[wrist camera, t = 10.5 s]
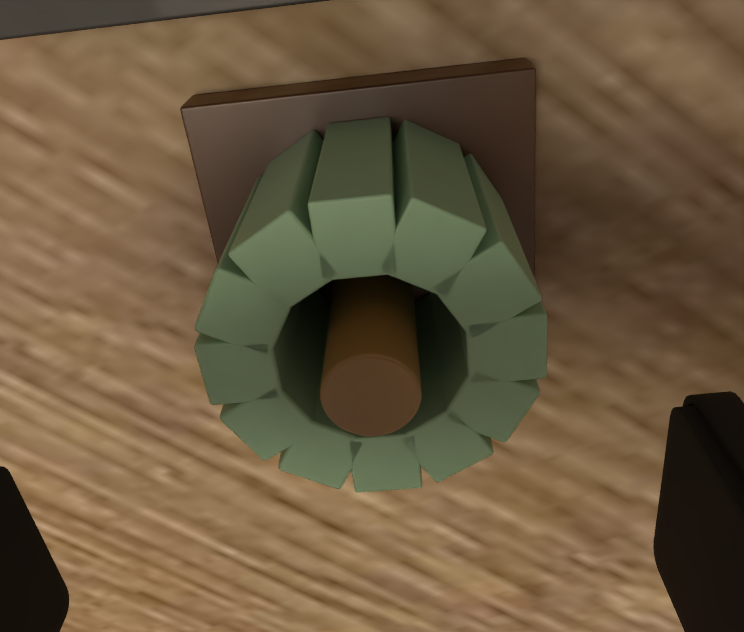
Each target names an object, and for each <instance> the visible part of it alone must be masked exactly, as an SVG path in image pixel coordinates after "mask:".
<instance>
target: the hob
mask: <svg viewBox="0 0 744 632" xmlns="http://www.w3.org/2000/svg"><path fill="white" fill-rule="evenodd" d="M320 1H328V0H0V40H4V39H12V38H20V37H29V36H37V35H45V34H54V33H62V32H70V31H79V30H87V29H95V28H104V27H112V26H120V25H129V24H137V23H145V22H154V21H162V20H170V19H179V18H187V17H195V16H204V15H212V14H220V13H229V12H237V11H245V10H253V9H262V8H270V7H278V6H287V5H295V4H303V3H312V2H320Z"/></svg>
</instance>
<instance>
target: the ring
mask: <svg viewBox="0 0 744 632" xmlns="http://www.w3.org/2000/svg"><path fill="white" fill-rule="evenodd" d="M378 275H390V276H392V277H395V278H397V279H400V280H402V281H405V282H407V283H410V284H412V285H415V286H417V287H420V288H422V289H425V290H427V291H430V292H431V293H430V294H429V295H427V296H425V297H424V298H422V299H421V300H419V301H417V302H416V303H415V316H416V328H417V340H418V353H419V365H420V378H421V390H422V398H421V403H420V406H419V409H418V411H417V413H416V414H415V415H414V417H413V418H412V419H411V420H410V421H409V422H408V423H407V424H406V425H405V426H403V427H402V428H400V429H398V430H396V431H394V432H392V433H389V434H385V435H379V436H363V435H357V434H354V433H351V432H348V431H346V430H344V429H342V428H340V427H339V426H337V425H336V424H335V423H334V422H333V421H332V420H331V419H330V418H329V417H328V416H327V414H326V412H325V411H324V409H323V407H322V404H321V400H320V386H321V378H322V370H323V362H324V355H325V347H326V339H327V331H328V324H329V316H330V308H331V303H329V302H328V301H327V300H326V299H325V298H324V296H323V295H322V294H321V293H320V292H319V291H318V289H319V288H321V287H322V286H324V285H325V284H327V283H328V282H330V281H331V280H336V279H346V278H357V277H368V276H378ZM541 300H542V296H541V293H540V291H539V289H538V286H537V284H536V281H535V279H534V276H533V274H532V271H531V269H530V267H529V264H528V262H527V259H526V257H525V254H524V252H523V249H522V247H521V244H520V242H519V240H518V237H517V235H516V232H515V230H514V227H513V225H512V222H511V220H510V217H509V215H508V213H507V210H506V208H505V205H504V203H503V200H502V198H501V197H500V195H499V194H498V192H497V191H496V189H495V188H494V186H493V185H492V183H491V182H490V180H489V179H488V177H487V176H486V175H485V173H484V172H483V170H482V169H481V167H480V166H479V164H478V163H477V161H476V160H475V158H474V157H473V155H472V154H468V155H467V156H465V157H463V154H462V151H461V148H460V145H459V144H458V143H456V142H454V141H452V140H450V139H447V138H445V137H443V136H441V135H439V134H436V133H434V132H432V131H430V130H427V129H425V128H423V127H421V126H418V125H416V124H414V123H412V122H410V121H407V120H404V121H403V122H402V124H401V126H400V128H399V130H398V133H397V135H396V137H395V139H394V141H393V143H392V133H391V122H390V118H389V117H383V118H374V119H364V120H355V121H346V122H337V123H329V124H328V125H327V129H326V133H325V137H324V141H323V140H322V139H321V137H320V136H319V135H318V133H317V132H316V131H314V130H313V131H310V132H309V133H308V134H306V135H305V136H304V137H302V138H301V139H300V140H299V141H297V142H296V143H295V144H293V145H292V146H291V147H289V148H288V149H287V150H285V151H284V152H283V153H281V154H280V155H279V156H277V157H276V158H275V159H273V160H272V161H271V162H269V163H268V165H267V167H266V170H265V172H264V174H263V176H262V177H260V176H259V177H258V178H257V180H256V182H255V184H254V186H253V189H252V191H251V193H250V195H249V197H248V199H247V202H246V204H245V206H244V208H243V210H242V213H241V215H240V217H239V219H238V221H237V223H236V226H235V228H234V230H233V232H232V234H231V236H230V239H229V241H228V243H227V245H226V247H225V249H224V252H223V254H222V256H221V258H220V260H219V262H218V265H217V267H216V269H215V272H214V274H213V277H212V280H211V283H210V285H209V288H208V291H207V294H206V296H205V299H204V302H203V305H202V307H201V310H200V313H199V316H198V318H197V321H196V324H195V330H196V331H197V332H200V334H199V336H198V338H197V341H196V343H195V346H194V348H195V352H196V355H197V359H198V362H199V366H200V369H201V373H202V377H203V380H204V384H205V387H206V391H207V394H208V398H209V401H210V403H211V404H212V405H219V404H223V408H222V411H221V414H220V419H221V421H222V422H223V423H224V424H225V425H226V426H227V427H229V428H230V429H231V430H232V431H233V432H234V433H235V434H236V435H237V436H238V437H239V438H240V439H241V440H242V441H243V442H244V443H245V444H247V445H248V446H249V447H250V448H251V449H252V450H253V451H254V452H255V453H256V454H257V455H258V456H259V457H260V458H261V459H262V460H268V459H269V458H271V457H273V456H274V455H276V454H278V453H280V452H281V455H280V460H279V469H280V470H281V471H284V472H287V473H290V474H293V475H296V476H299V477H303V478H306V479H309V480H312V481H315V482H318V483H321V484H324V485H327V486H330V487H333V488H336V489H340V488H341V487H342V485H343V484H344V482H345V480H346V478H347V477H348V475H349V473H350V471H351V470H352V476H353V482H354V488H355V491H356V492H370V491H384V490H398V489H411V488H421V487H422V475H421V466H422V467H423V469H424V470H425V471H426V472H427V473H428V474H429V475H430V476H431V477H432V478H433V479H434V481H435V482H440V481H442V480H444V479H446V478H448V477H450V476H452V475H454V474H456V473H457V472H459V471H461V470H463V469H465V468H467V467H469V466H471V465H473V464H475V463H477V462H479V461H481V460H482V459H484V458H486V457H488V456H490V455H492V454H493V452H494V451H493V447H492V442H491V438H493V439H496V440H499V441H502V442H506V441H507V440H508V439H509V437H510V436H511V434H512V433H513V431H514V430H515V429H516V427H517V426H518V424H519V423H520V421H521V420H522V419H523V417H524V416H525V414H526V413H527V411H528V410H529V408H530V407H531V406H532V404H533V403H534V401H535V400H536V398H537V397H538V395H539V393H540V389H539V386H538V383H537V380H536V379H542V378H546V375H547V318H548V316H547V313H546V311H545V308H544V306H543V303H542V301H541Z"/></svg>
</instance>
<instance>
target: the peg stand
mask: <svg viewBox="0 0 744 632" xmlns="http://www.w3.org/2000/svg"><path fill="white" fill-rule="evenodd" d="M180 110H181V114H182V119H183V123H184V127H185V131H186V135H187V139H188V143H189V147H190V151H191V155H192V159H193V163H194V168H195V172H196V176H197V180H198V184H199V188H200V192H201V196H202V200H203V204H204V208H205V212H206V217H207V221H208V225H209V229H210V233H211V237H212V241H213V245H214V249H215V253H216V257H217V261H218V262H219V260H220V258H221V256H222V254H223V252H224V249H225V247H226V245H227V243H228V241H229V239H230V236H231V234H232V232H233V230H234V228H235V226H236V223H237V221H238V219H239V217H240V215H241V213H242V210H243V208H244V206H245V204H246V202H247V199H248V197H249V195H250V193H251V191H252V189H253V186H254V184H255V182H256V180H257V178H258V177H259V176H260V177H262V176H263V174H264V172H265V170H266V167H267V165H268V163H269V162H271V161H272V160H273V159H275V158H276V157H277V156H279V155H280V154H281V153H283V152H284V151H285V150H287V149H288V148H289V147H291V146H292V145H293V144H295V143H296V142H297V141H299V140H300V139H301V138H302V137H304V136H305V135H306V134H308V133H309V132H310V131H313V130H314V131H316V132H317V133H318V135H319V136H320V137H321V139H322V140H323V141H324V137H325V133H326V129H327V125H328V124H329V123H337V122H346V121H355V120H364V119H374V118H383V117H389V118H390V122H391V133H392V143H393V141H394V139H395V137H396V135H397V133H398V130H399V128H400V126H401V124H402V122H403V121H404V120H407V121H410V122H412V123H414V124H416V125H418V126H421V127H423V128H425V129H427V130H430V131H432V132H434V133H436V134H439V135H441V136H443V137H445V138H447V139H450V140H452V141H454V142H456V143H458V144H459V145H460V148H461V151H462V154H463V157H465V156H467V155H468V154H472V155H473V157H474V158H475V160H476V161H477V163H478V164H479V166H480V167H481V169H482V170H483V172H484V173H485V175H486V176H487V177H488V179H489V180H490V182H491V183H492V185H493V186H494V188H495V189H496V191H497V192H498V194H499V195H500V197H501V198H502V200H503V203H504V205H505V208H506V210H507V213H508V215H509V217H510V220H511V222H512V225H513V227H514V230H515V232H516V235H517V237H518V240H519V242H520V244H521V247H522V249H523V252H524V254H525V257H526V259H527V262H528V264H529V267H530V269H531V271H532V274H533V276H534V279H535V118H536V69H535V68H534V67H533V65H532V64H531V63H530V62H529V61H528V60H527V59H525V58H522V59H513V60H505V61H496V62H487V63H478V64H469V65H460V66H451V67H442V68H433V69H425V70H416V71H407V72H398V73H389V74H380V75H371V76H362V77H353V78H344V79H336V80H327V81H318V82H309V83H300V84H291V85H282V86H273V87H264V88H256V89H247V90H238V91H229V92H220V93H211V94H202V95H193V96H192V97H191V98H190V99H189V100H188V101H187V102H186V103H185V104H184V105H183V106H182V107H181V108H180ZM318 291H319V292H320V293H321V294H322V295H323V296H324V298H325V299H326V300H327V301H328V302H329V303H331V308H330V316H329V324H328V331H327V339H326V347H325V355H324V362H323V370H322V378H321V386H320V400H321V404H322V407H323V409H324V411H325V412H326V414H327V416H328V417H329V418H330V419H331V420H332V421H333V422H334V423H335V424H336V425H337V426H339V427H340V428H342V429H344V430H346V431H348V432H351V433H354V434H357V435H363V436H379V435H385V434H389V433H392V432H394V431H396V430H398V429H400V428H402V427H403V426H405V425H406V424H407V423H408V422H409V421H410V420H411V419H412V418H413V417H414V415H415V414H416V413H417V411H418V409H419V406H420V403H421V398H422V390H421V378H420V365H419V353H418V340H417V328H416V316H415V303H416V302H417V301H419V300H421V299H422V298H424V297H425V296H427V295H429V294H430V293H431V292H430V291H427V290H425V289H422V288H420V287H417V286H415V285H412V284H410V283H407V282H405V281H402V280H400V279H397V278H395V277H392V276H390V275H378V276H368V277H357V278H346V279H336V280H331V281H330V282H328V283H327V284H325V285H324V286H322V287H321V288H319V289H318Z"/></svg>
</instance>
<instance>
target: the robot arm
mask: <svg viewBox="0 0 744 632" xmlns="http://www.w3.org/2000/svg"><path fill="white" fill-rule="evenodd" d="M654 556H655V561H656V565H657V568H658V571H659V573H660V576H661V578H662V580H663V582H664V585H665V587H666V589H667V592H668V594H669V596H670V599H671V601H672V603H673V606H674V608H675V610H676V613H677V615H678V617H679V620H680V622H681V624H682V627H683V629H684V631H685V632H744V403H743V402H742V400H741V399H740V398H739V397H738V396H737V395H736V394H735V393H733V392H719V393H708V394H696V395H689V396H687V397H686V398H685V400H684V403H683V407H675V408H673V409H672V411H671V415H670V421H669V429H668V436H667V444H666V452H665V459H664V467H663V475H662V482H661V490H660V498H659V505H658V513H657V521H656V528H655V536H654ZM68 607H69V593H68V590H67V587H66V585H65V583H64V581H63V579H62V577H61V575H60V573H59V571H58V569H57V567H56V565H55V563H54V561H53V559H52V557H51V554H50V552H49V550H48V548H47V546H46V544H45V542H44V540H43V538H42V536H41V534H40V532H39V530H38V528H37V526H36V524H35V522H34V520H33V518H32V516H31V514H30V512H29V510H28V508H27V506H26V504H25V502H24V500H23V498H22V496H21V494H20V492H19V490H18V488H17V486H16V484H15V482H14V480H13V478H12V476H11V474H10V472H9V471H8V469H6V468H5V467H1V466H0V632H60V629H61V627H62V625H63V622H64V620H65V618H66V615H67V612H68Z"/></svg>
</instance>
